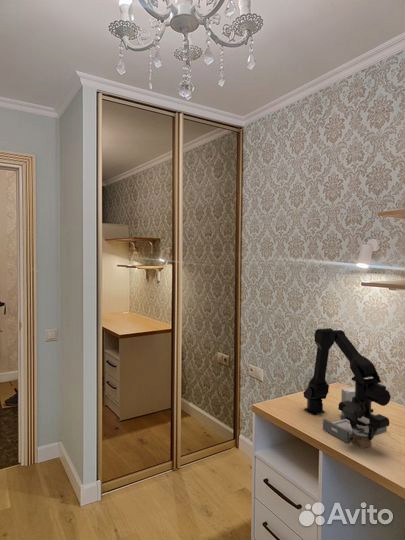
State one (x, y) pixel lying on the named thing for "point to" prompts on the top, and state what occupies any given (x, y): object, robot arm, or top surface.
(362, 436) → the disc
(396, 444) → the top surface
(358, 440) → the walnut block
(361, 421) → the housing
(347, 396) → the skincare box
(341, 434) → the tray
